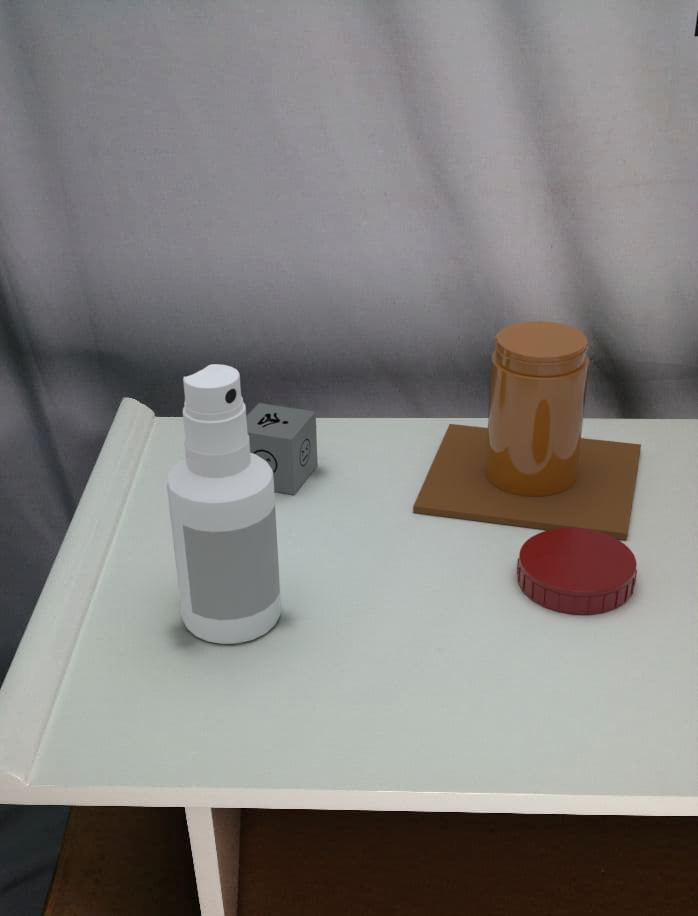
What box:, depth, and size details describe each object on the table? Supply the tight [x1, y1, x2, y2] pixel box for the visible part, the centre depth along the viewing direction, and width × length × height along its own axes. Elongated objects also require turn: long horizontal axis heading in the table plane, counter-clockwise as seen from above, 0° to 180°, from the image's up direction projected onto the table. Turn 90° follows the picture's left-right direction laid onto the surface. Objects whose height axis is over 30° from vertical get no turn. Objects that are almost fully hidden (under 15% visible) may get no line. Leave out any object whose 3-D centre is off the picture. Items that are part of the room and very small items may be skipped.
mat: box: [412, 423, 642, 541], centre depth 94 cm, size 16×14×1 cm
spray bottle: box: [166, 363, 282, 645], centre depth 76 cm, size 7×7×18 cm
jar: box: [485, 320, 590, 496], centre depth 91 cm, size 7×7×12 cm
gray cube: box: [246, 402, 319, 496], centre depth 95 cm, size 5×5×5 cm
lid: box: [516, 528, 638, 615], centre depth 82 cm, size 8×8×2 cm
